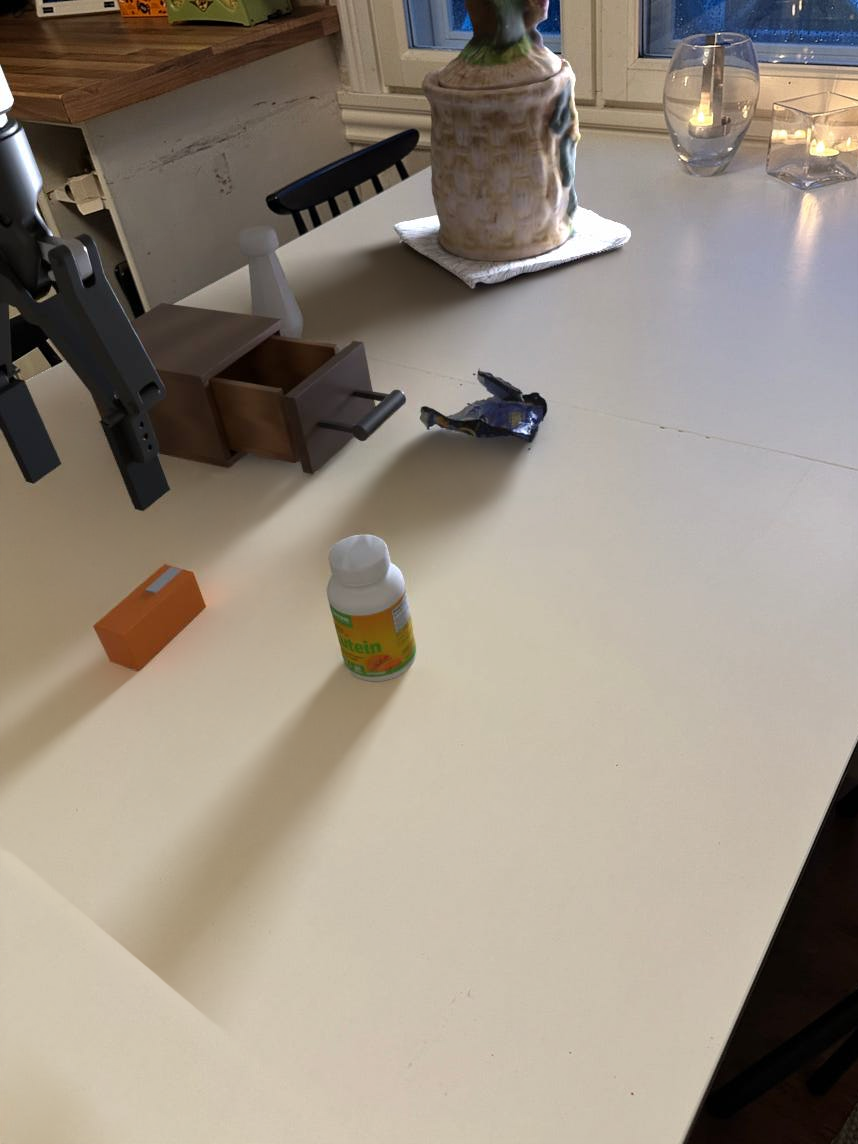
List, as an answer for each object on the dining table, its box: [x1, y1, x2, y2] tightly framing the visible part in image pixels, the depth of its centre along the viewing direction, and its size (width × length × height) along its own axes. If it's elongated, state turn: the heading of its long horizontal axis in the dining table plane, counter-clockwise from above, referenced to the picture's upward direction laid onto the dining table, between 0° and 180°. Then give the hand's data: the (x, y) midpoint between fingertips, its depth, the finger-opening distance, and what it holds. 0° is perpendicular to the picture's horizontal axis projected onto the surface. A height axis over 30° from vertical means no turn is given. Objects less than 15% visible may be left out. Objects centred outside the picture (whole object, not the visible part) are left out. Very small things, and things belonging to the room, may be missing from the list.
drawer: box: [208, 335, 407, 475], centre depth 91 cm, size 20×11×8 cm, turn 63°
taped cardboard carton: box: [92, 563, 207, 672], centre depth 73 cm, size 3×8×4 cm, turn 153°
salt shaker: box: [237, 225, 304, 339], centre depth 109 cm, size 6×6×13 cm
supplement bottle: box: [326, 534, 418, 682], centre depth 67 cm, size 5×5×10 cm
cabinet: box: [90, 302, 286, 469], centre depth 96 cm, size 16×13×10 cm
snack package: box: [419, 369, 548, 451], centre depth 92 cm, size 12×6×12 cm
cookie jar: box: [393, 0, 631, 289], centre depth 120 cm, size 25×25×32 cm
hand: (96, 485), depth 66 cm, fingers open, 9 cm apart
